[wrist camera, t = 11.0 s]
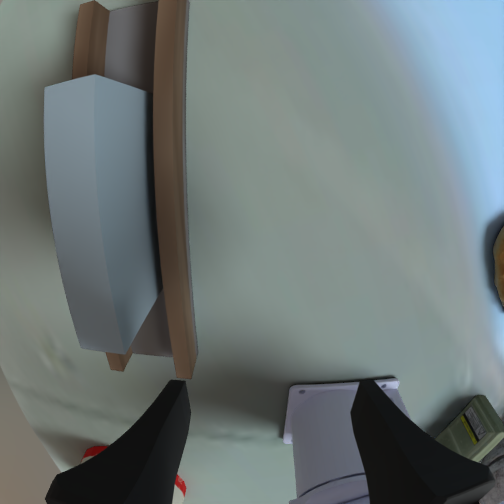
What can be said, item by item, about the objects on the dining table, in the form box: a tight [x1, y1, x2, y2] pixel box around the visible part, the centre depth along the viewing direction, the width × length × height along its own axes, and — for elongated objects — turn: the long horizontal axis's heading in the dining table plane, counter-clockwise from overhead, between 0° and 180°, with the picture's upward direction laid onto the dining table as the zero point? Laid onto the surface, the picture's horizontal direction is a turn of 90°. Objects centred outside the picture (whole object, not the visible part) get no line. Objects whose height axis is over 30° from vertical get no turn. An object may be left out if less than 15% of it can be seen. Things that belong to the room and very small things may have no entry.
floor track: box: [72, 0, 198, 379], centre depth 17 cm, size 6×24×3 cm, turn 179°
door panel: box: [44, 74, 163, 354], centre depth 15 cm, size 2×12×7 cm, turn 179°
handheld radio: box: [435, 395, 504, 462], centre depth 26 cm, size 7×3×25 cm
